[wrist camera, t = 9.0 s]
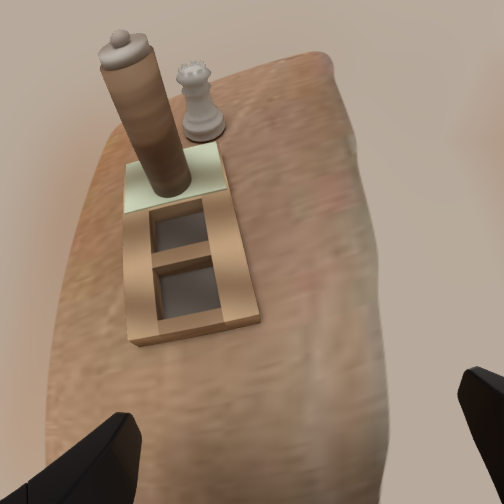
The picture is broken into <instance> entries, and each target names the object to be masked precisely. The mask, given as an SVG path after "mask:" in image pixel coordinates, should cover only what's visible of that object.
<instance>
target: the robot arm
mask: <svg viewBox="0 0 504 504" xmlns="http://www.w3.org/2000/svg"><path fill="white" fill-rule="evenodd" d="M457 395H458V400H459V403H460V405H461V408H462V410H463V413H464V415H465V418H466V421H467V424H468V426H469V429H470V432H471V434H472V437H473V440H474V442H475V444H476V446H477V448H478V450H479V452H480V454H481V457H482V459H483V461H484V463H485V465H486V467H487V469H488V472H489V474H490V476H491V479H492V481H493V483H494V485H495V488H496V490H497V493H498V495H499V498H500V500H501V503H502V504H504V377H503V376H500V375H498V374H495V373H493V372H490V371H488V370H486V369H483V368H481V367H478V366H476V367H472V368H470V369H467V370H466V371H465V372H464V374H463V376H462V380H461V383H460V386H459V389H458V393H457ZM141 444H142V436H141V432H140V430H139V428H138V426H137V424H136V422H135V419H134V417H133V415H132V414H130V413H124V412H116V413H115V414H113V415H112V416H111V417H110V418H108V419H107V420H106V421H105V422H103V423H102V424H101V425H100V426H98V427H97V428H96V429H95V430H93V431H92V432H91V433H90V434H88V435H87V436H86V437H85V438H83V439H82V440H81V441H80V442H78V443H77V444H76V445H74V446H73V447H72V448H71V449H69V450H68V451H67V452H66V453H64V454H63V455H62V456H60V457H59V458H58V459H57V460H55V461H54V462H53V463H51V464H50V465H49V466H47V467H46V468H45V469H44V470H42V471H41V472H40V473H38V474H37V475H36V476H34V477H33V478H32V479H30V480H29V481H28V483H25V484H23V485H22V486H21V487H20V488H18V489H17V490H15V491H14V492H12V493H11V494H10V495H8V496H7V497H5V498H4V499H2V500H0V504H133V502H134V498H135V493H136V488H137V481H138V471H139V461H140V453H141Z"/></svg>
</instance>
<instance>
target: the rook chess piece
mask: <svg viewBox="0 0 504 504" xmlns="http://www.w3.org/2000/svg"><path fill="white" fill-rule="evenodd" d="M178 73H179V74H178V75H177V78H176V80H177V82H178V83H179V84H181V85H182V86H183V88H182V93H183V94H184V95H185V99H186V112H185V117H184V119H183V127H184V134H185V136H186V137H188V138H189V139H191V140H193V141H196V142H207V141H210V140H213V139H215V138H216V137H218V136H219V135H220V134H221V133H222V131H223V130H224V128H225V121H224V116H223V114H222V112H221V111H220V110H219V109H218V108H217V106H216V105H214V103H213V100H212V97H211V95H210V90H209V89H210V87H211V85H210V83H209V82H208V81H207V80H208V78H209V76H210V75H211V71H210V70H209V69H208V68H206V65H205V64H204V62H202V61H200V62H199V65H197V64H196V61H191V66H187V64H186V63H185V64H183V65H182V68H178Z"/></svg>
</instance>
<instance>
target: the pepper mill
mask: <svg viewBox="0 0 504 504" xmlns="http://www.w3.org/2000/svg"><path fill="white" fill-rule="evenodd" d="M98 56H99V59H100V62H101V64H102V65H101V66H100V71H101V73H102V76H103V78H104V81H105V83H106V85H107V88H108V90H109V93H110V95H111V98H112V100H113V102H114V105H115V107H116V109H117V112H118V114H119V116H120V119H121V121H122V123H123V125H124V128H125V130H126V132H127V135H128V137H129V139H130V141H131V143H132V146H133V148H134V150H135V152H136V154H137V157H138V159H139V161H140V163H141V165H142V167H143V170H144V172H145V174H146V176H147V178H148V180H149V182H150V184H151V186H152V189H153V191H154V192H155V194H156V195H158V196H160V197H162V198H172V197H176V196H178V195H180V194H182V193H183V192H185V191H186V190H187V189H188V187H189V186H190V184H191V180H192V177H191V173H190V170H189V167H188V164H187V160H186V157H185V154H184V151H183V148H182V144H181V141H180V138H179V135H178V131H177V128H176V125H175V121H174V118H173V115H172V111H171V108H170V105H169V101H168V98H167V95H166V91H165V88H164V84H163V81H162V77H161V75H160V70H159V67H158V63H157V60H156V56H155V52H154V49H153V47H152V46H150V45H149V44H148V40H147V36H146V35H145V34H142V33H139V34H129V33H128V32H127V31H125V30H117V31H115V32H114V33H113V34H112V35H111V37H110V43H108V44H107V45H105V46H104V47H103V48H102V49H101V50H100V51H99V53H98Z"/></svg>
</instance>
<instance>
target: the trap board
mask: <svg viewBox="0 0 504 504" xmlns="http://www.w3.org/2000/svg"><path fill="white" fill-rule="evenodd" d="M183 151H184V154H185V157H186V160H187V164H188V167H189V170H190V173H191V177H192V180H191V184H190V186H189V187H188V189H187V190H186V191H185V192H183V193H182V194H180V195H178V196H176V197H172V198H162V197H160V196H158V195H156V194H155V192H154V191H153V189H152V186H151V184H150V182H149V180H148V178H147V176H146V174H145V172H144V170H143V167H142V165H141V163H140V161H136V162H132V163H129V164H125V173H124V195H123V272H124V295H125V311H126V324H127V336H128V341H130V342H131V343H133V344H135V345H137V346H138V347H141V346H147V345H153V344H159V343H164V342H170V341H175V340H180V339H186V338H191V337H196V336H201V335H206V334H211V333H216V332H220V331H225V330H230V329H234V328H239V327H244V326H248V325H252V324H257V323H261V322H260V314H259V310H258V306H257V302H256V298H255V294H254V290H253V285H252V281H251V277H250V273H249V269H248V265H247V261H246V256H245V252H244V248H243V244H242V240H241V236H240V231H239V227H238V223H237V219H236V215H235V211H234V206H233V202H232V198H231V194H230V189H229V185H228V181H227V177H226V173H225V168H224V164H223V160H222V156H221V151H220V147H219V143H218V141H215V142H211V143H206V144H202V145H197V146H193V147H189V148H185V149H183Z"/></svg>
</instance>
